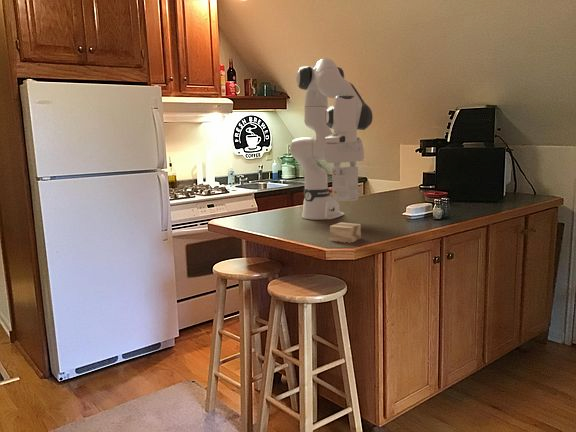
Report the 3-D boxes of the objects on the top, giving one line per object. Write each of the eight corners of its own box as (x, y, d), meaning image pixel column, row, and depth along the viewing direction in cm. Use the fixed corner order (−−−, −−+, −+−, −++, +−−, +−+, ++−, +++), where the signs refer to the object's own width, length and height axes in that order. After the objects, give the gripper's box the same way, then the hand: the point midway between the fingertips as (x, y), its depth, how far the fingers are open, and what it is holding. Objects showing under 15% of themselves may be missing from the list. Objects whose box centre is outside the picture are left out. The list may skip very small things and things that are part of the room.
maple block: (340, 236, 212) (340, 222, 211) (360, 238, 207) (360, 224, 206) (329, 241, 205) (329, 226, 204) (350, 243, 200) (350, 228, 199)
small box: (358, 200, 203) (358, 166, 201) (348, 201, 198) (348, 167, 196) (342, 198, 208) (341, 166, 207) (332, 200, 204) (331, 167, 202)
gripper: (354, 137, 209) (354, 171, 211) (321, 138, 195) (322, 175, 197) (367, 137, 205) (367, 172, 207) (335, 138, 190) (335, 176, 193)
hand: (345, 174), depth 202 cm, fingers closed on small box, 6 cm apart
